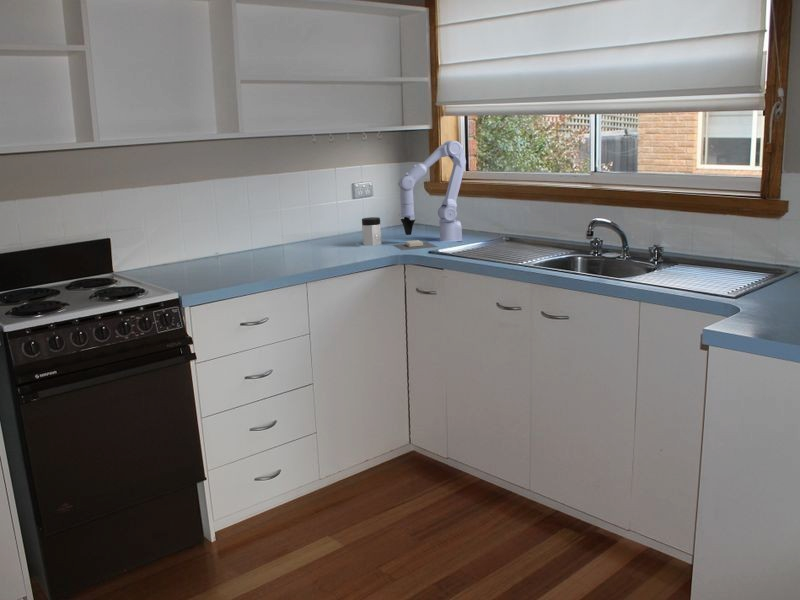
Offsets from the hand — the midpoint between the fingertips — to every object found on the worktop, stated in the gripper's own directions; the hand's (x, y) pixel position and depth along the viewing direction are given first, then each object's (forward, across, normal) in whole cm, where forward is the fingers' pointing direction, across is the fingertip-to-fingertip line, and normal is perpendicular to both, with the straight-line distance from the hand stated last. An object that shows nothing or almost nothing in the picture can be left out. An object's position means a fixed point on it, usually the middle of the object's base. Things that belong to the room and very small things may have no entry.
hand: (408, 234), depth 355 cm
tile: (+3, +4, 0) cm, 5 cm away
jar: (+5, -7, -15) cm, 17 cm away
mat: (+4, +9, 0) cm, 10 cm away
